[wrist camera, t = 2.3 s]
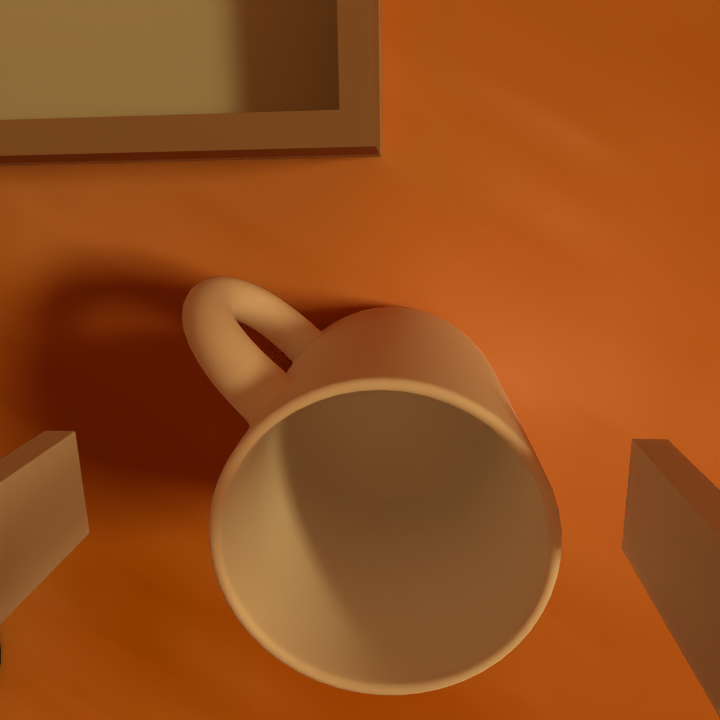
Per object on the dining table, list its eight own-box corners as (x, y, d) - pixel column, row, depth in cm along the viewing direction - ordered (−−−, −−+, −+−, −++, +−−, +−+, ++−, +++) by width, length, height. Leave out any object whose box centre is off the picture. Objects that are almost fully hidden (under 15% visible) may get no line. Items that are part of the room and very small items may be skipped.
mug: (174, 337, 25) (15, 434, 15) (320, 181, 23) (253, 169, 13) (390, 540, 26) (380, 752, 16) (543, 409, 24) (640, 558, 14)
